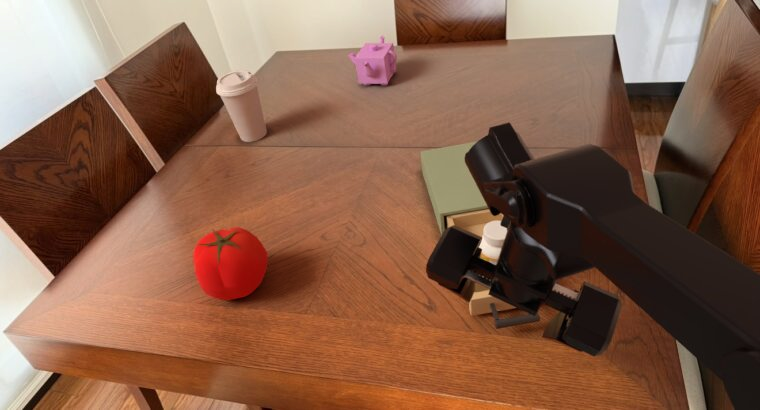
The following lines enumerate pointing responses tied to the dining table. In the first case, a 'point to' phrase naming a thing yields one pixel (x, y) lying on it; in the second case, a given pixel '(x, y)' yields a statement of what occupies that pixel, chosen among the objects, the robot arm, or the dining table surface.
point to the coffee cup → (243, 103)
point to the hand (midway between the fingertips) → (506, 315)
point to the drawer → (480, 298)
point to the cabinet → (450, 182)
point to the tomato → (230, 263)
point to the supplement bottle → (492, 241)
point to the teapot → (375, 62)
